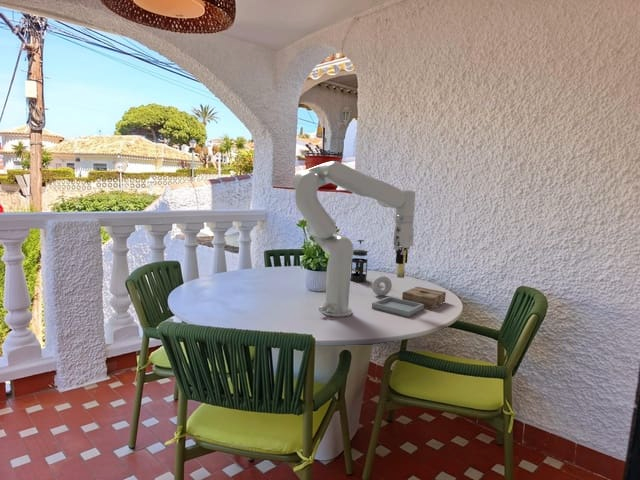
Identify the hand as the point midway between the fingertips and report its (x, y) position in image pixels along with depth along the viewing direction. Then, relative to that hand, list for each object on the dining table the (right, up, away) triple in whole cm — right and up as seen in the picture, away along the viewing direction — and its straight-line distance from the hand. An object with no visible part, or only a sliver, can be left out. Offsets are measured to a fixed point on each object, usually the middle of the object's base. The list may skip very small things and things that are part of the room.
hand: (401, 262), depth 163 cm
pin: (0, -6, +1) cm, 6 cm away
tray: (-1, -20, +2) cm, 20 cm away
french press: (-13, -13, +53) cm, 56 cm away
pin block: (+13, -19, +14) cm, 27 cm away
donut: (-5, -18, +23) cm, 29 cm away
